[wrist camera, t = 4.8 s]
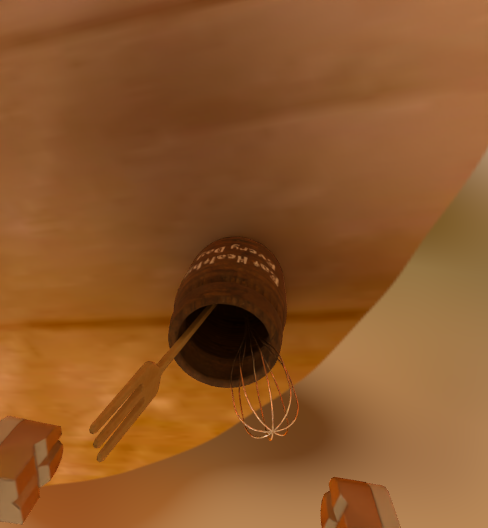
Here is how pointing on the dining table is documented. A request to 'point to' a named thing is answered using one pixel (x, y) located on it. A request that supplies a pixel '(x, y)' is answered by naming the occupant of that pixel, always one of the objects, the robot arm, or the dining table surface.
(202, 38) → the dining table surface
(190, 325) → the utensil holder
